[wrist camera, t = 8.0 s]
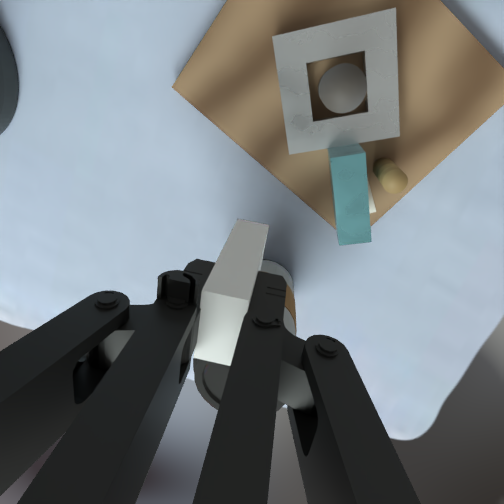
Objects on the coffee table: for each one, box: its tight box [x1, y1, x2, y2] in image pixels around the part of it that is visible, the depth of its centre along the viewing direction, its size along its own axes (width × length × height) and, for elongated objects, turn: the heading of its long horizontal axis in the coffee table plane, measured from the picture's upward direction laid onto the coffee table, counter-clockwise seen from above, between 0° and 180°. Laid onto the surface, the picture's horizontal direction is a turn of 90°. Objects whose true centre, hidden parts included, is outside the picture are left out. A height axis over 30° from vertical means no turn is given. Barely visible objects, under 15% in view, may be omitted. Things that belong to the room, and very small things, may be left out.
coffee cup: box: [193, 260, 296, 411], centre depth 34 cm, size 8×8×15 cm
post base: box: [172, 0, 504, 229], centre depth 28 cm, size 22×18×8 cm
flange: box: [272, 8, 400, 245], centre depth 29 cm, size 9×16×6 cm, turn 11°
